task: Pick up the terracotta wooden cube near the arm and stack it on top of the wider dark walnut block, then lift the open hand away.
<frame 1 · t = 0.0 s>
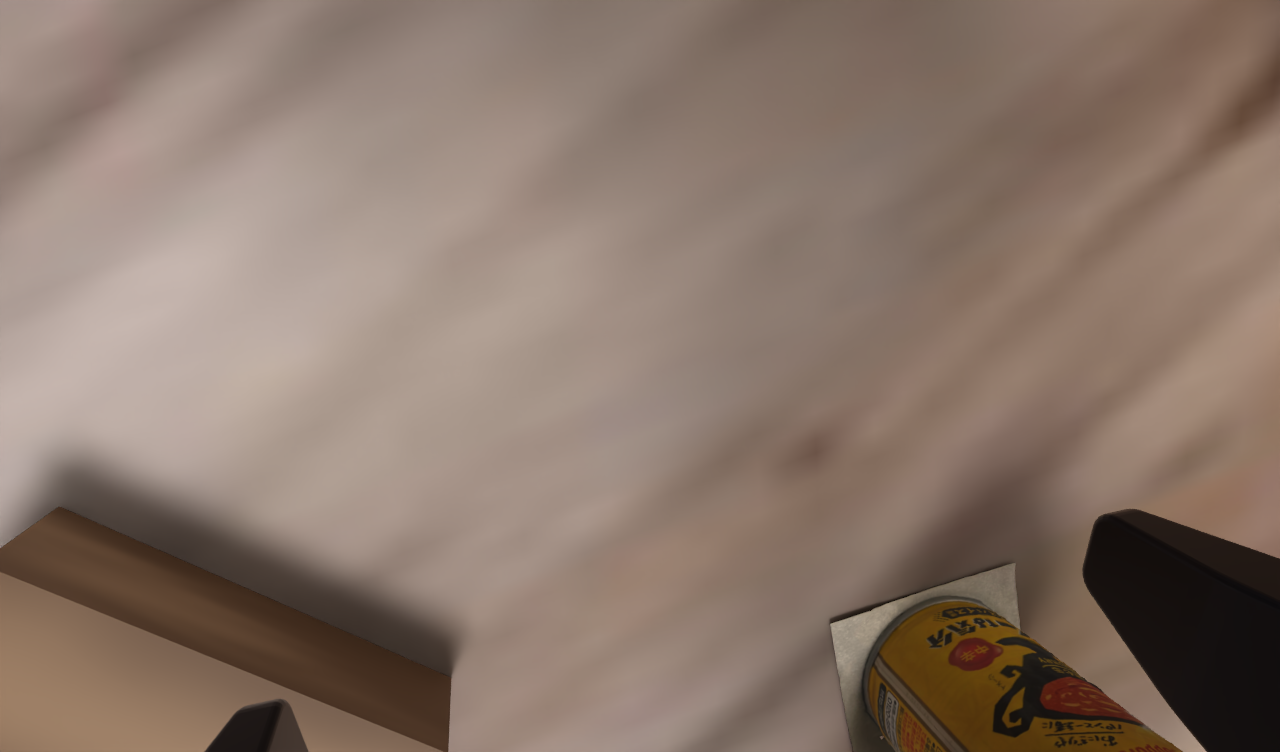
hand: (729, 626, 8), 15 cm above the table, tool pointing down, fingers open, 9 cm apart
condiment: (931, 686, 29), on the table
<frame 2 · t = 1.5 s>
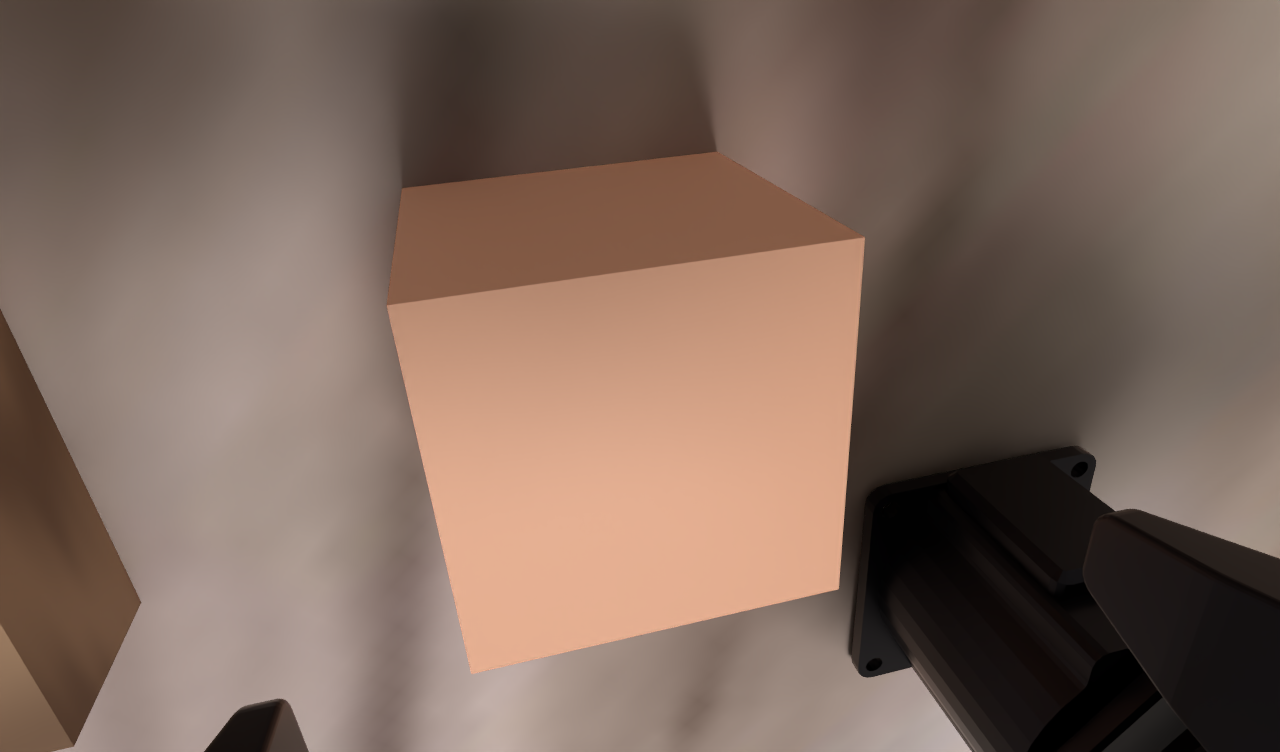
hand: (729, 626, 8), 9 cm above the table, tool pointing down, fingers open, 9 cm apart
terracotta cube: (580, 314, 16), on the table
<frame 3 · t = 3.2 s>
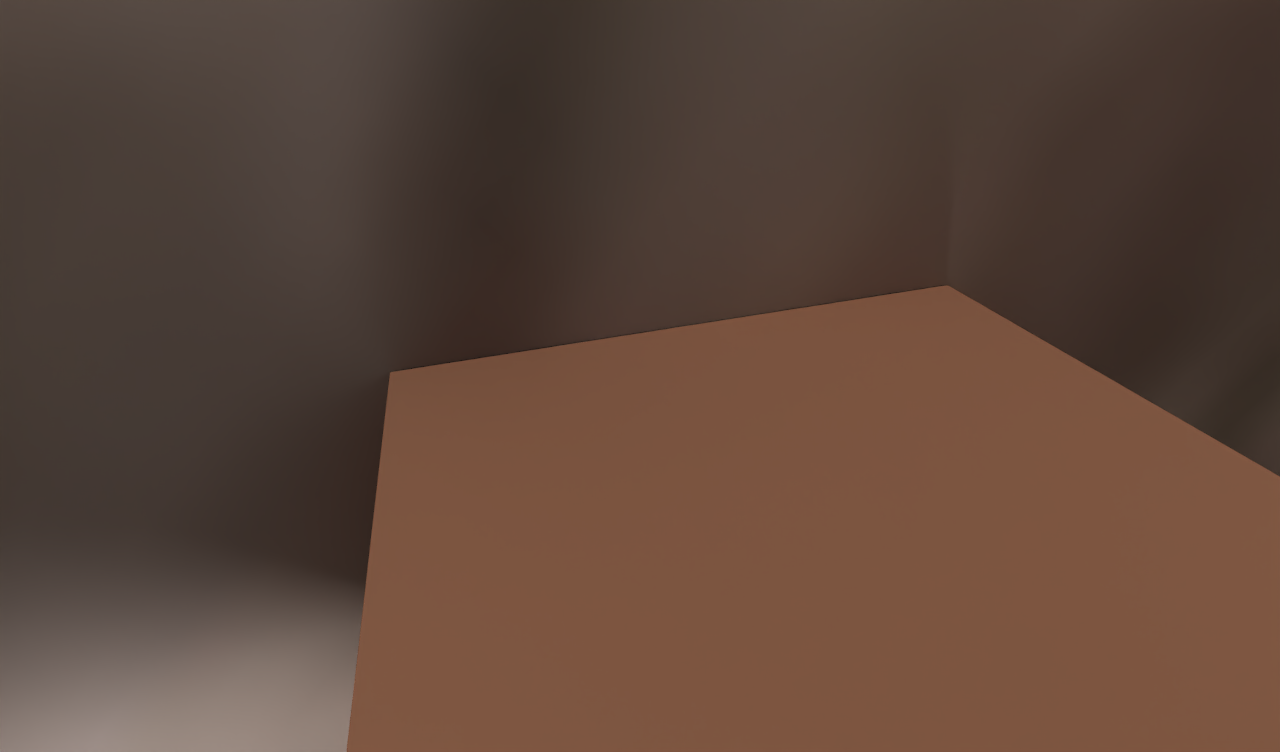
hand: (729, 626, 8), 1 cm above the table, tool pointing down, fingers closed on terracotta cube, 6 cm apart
terracotta cube: (696, 551, 9), on the table, touching gripper
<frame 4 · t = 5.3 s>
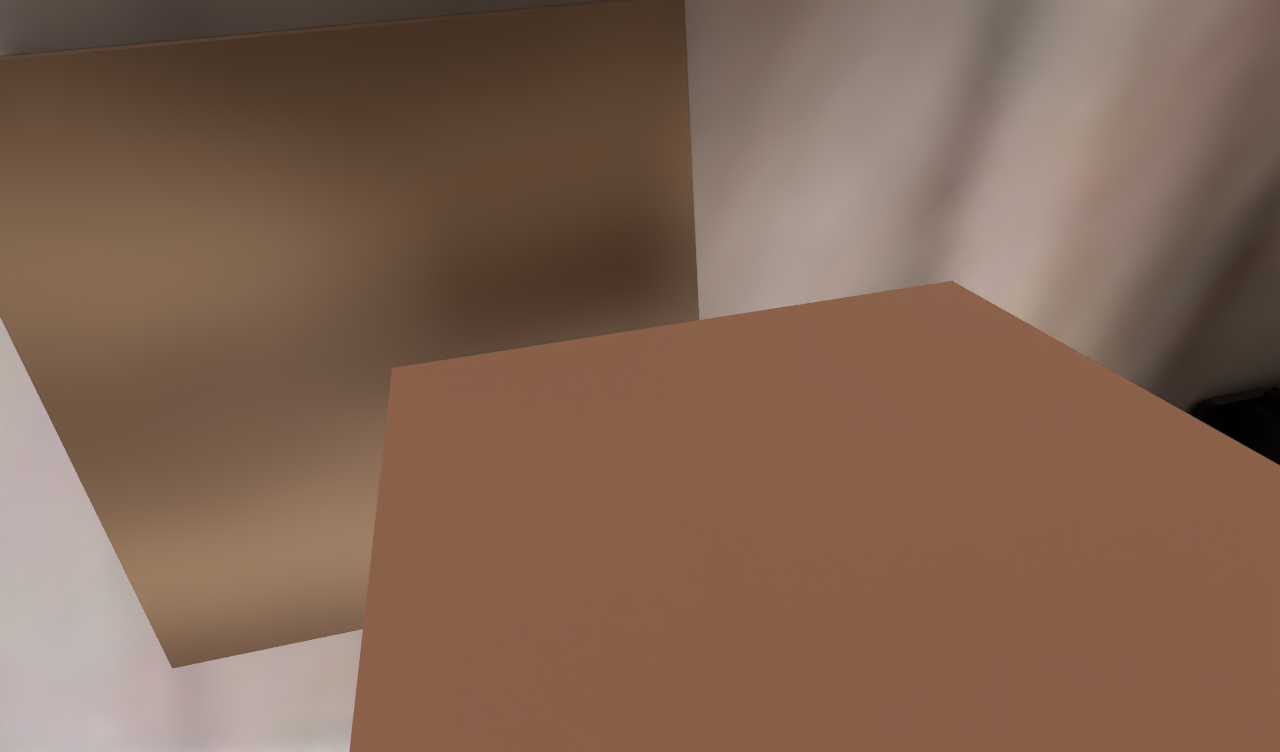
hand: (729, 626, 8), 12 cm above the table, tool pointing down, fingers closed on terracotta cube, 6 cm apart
walnut block: (408, 301, 18), on the table
terracotta cube: (699, 549, 9), point 10 cm above the table, touching gripper
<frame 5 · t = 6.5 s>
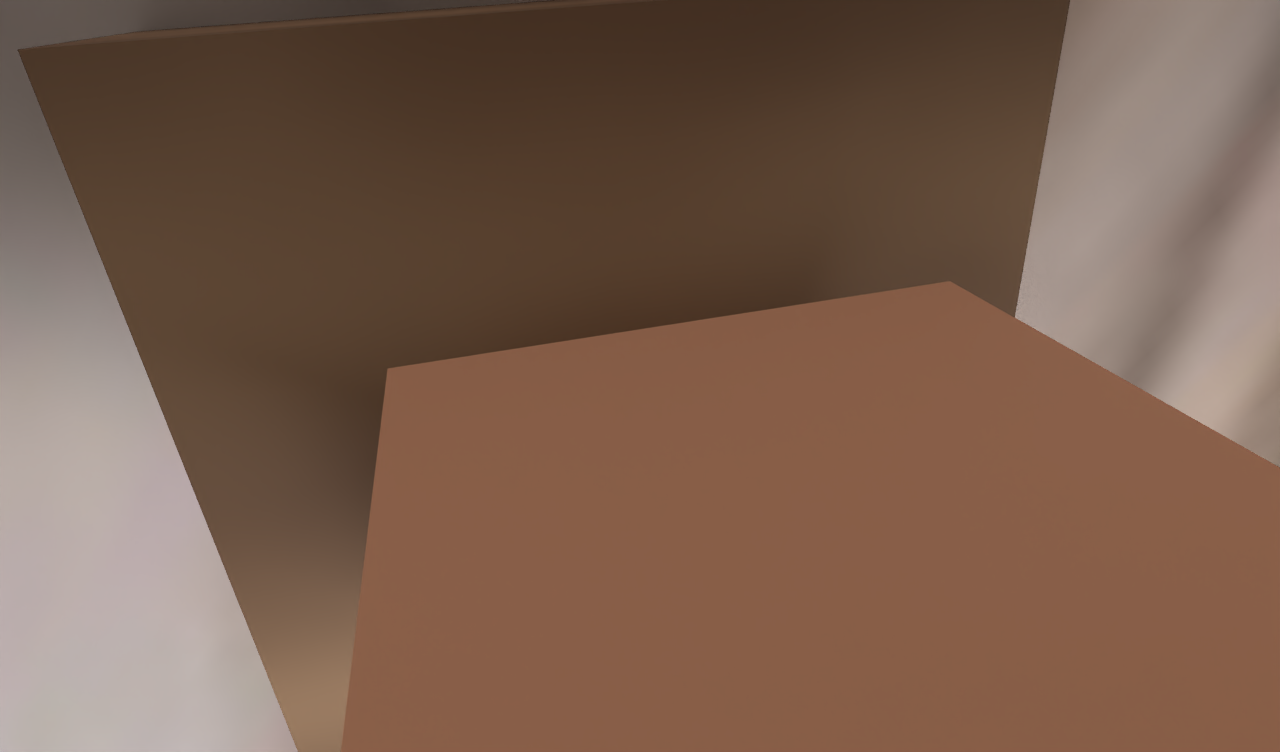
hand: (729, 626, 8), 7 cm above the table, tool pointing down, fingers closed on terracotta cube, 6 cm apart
walnut block: (594, 344, 15), on the table
terracotta cube: (696, 550, 9), point 6 cm above the table, touching gripper
when the fingers open (7 cm above the table, at t = 7.5 s): terracotta cube drops 2 cm, resting on walnut block.
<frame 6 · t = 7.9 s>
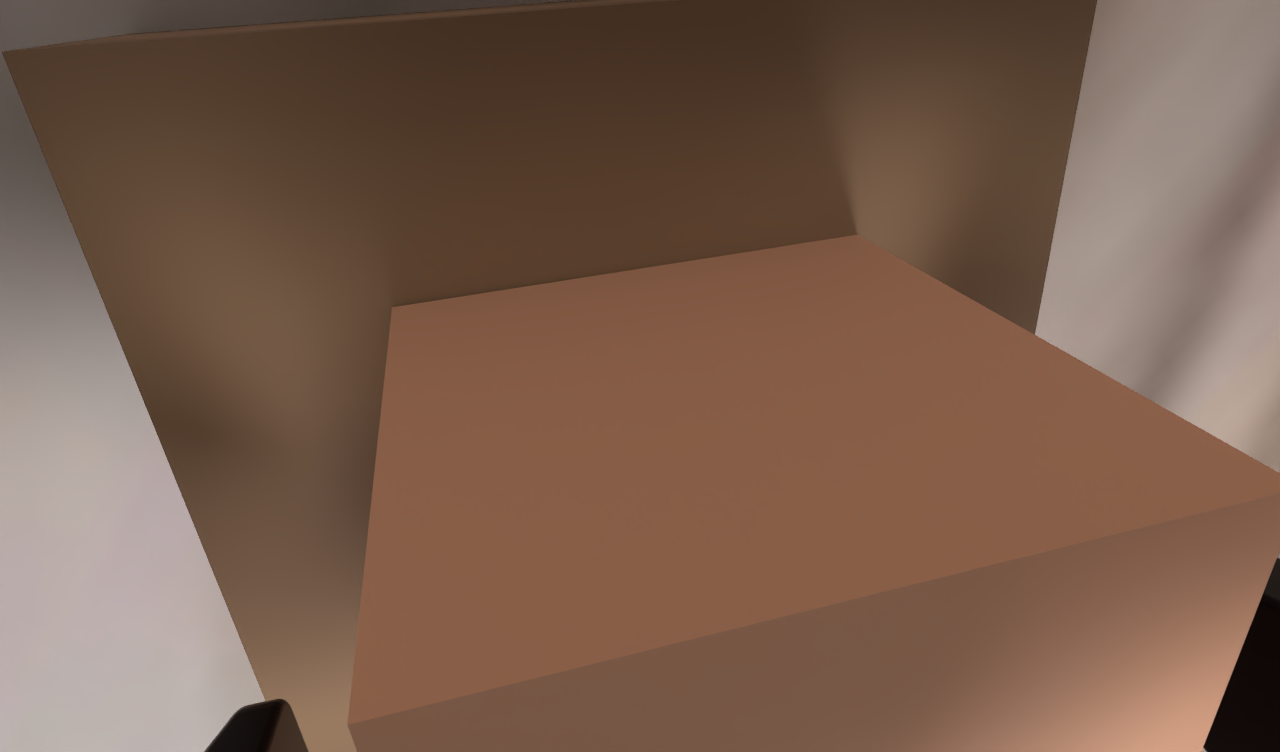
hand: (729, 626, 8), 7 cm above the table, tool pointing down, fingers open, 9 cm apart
walnut block: (600, 353, 15), on the table, touching terracotta cube
terracotta cube: (653, 467, 11), point 4 cm above the table, touching walnut block
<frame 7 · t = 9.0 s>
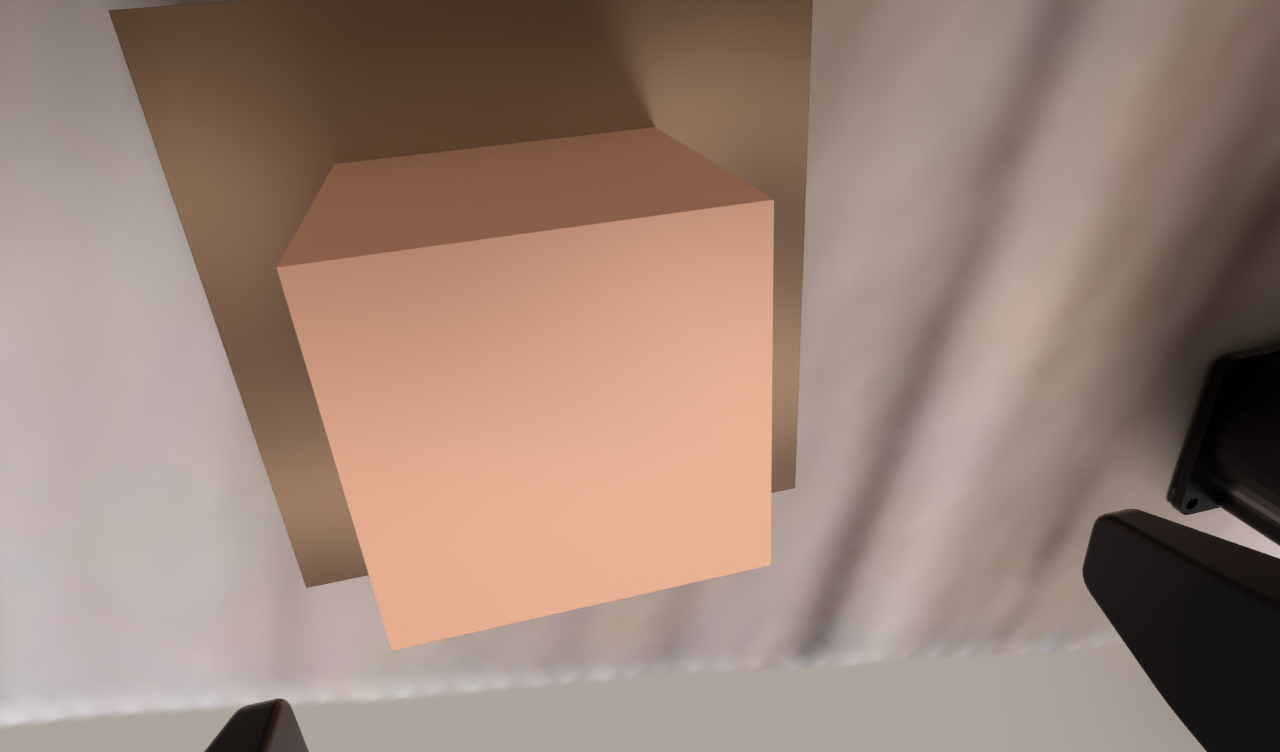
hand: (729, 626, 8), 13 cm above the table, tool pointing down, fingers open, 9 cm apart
walnut block: (515, 249, 20), on the table, touching terracotta cube
terracotta cube: (522, 294, 16), point 4 cm above the table, touching walnut block
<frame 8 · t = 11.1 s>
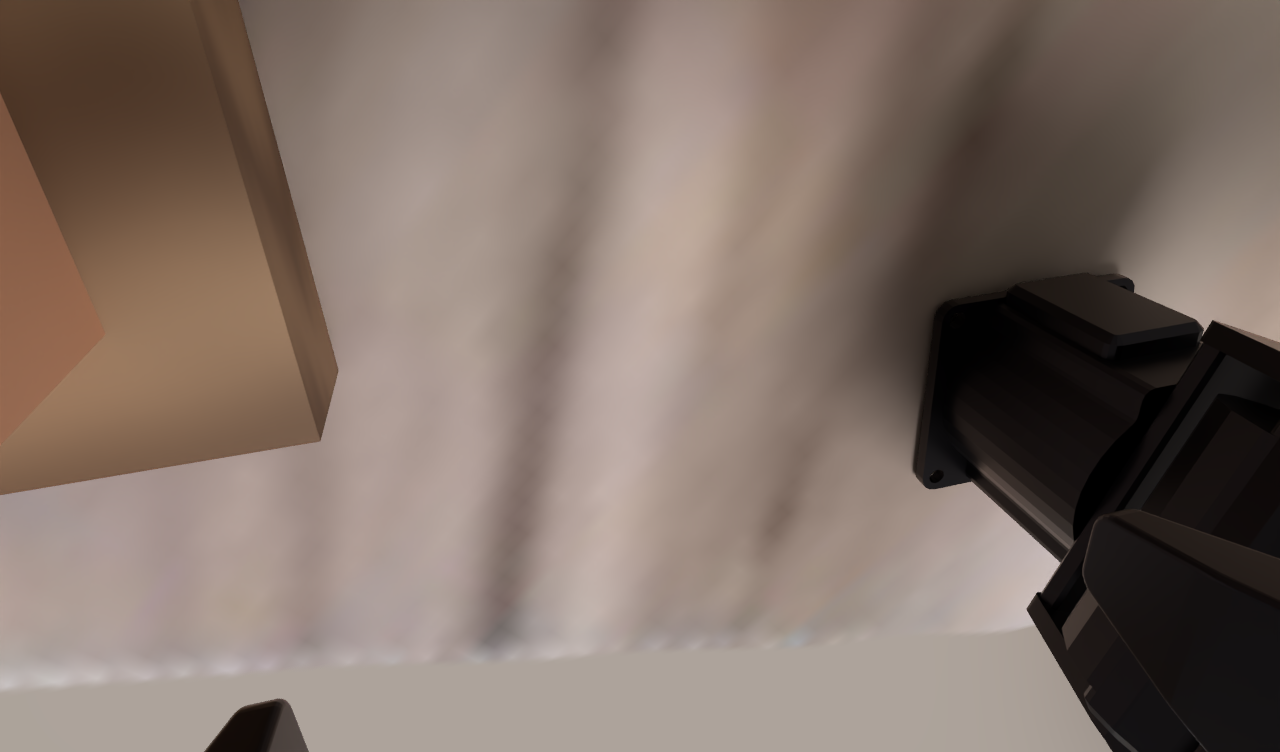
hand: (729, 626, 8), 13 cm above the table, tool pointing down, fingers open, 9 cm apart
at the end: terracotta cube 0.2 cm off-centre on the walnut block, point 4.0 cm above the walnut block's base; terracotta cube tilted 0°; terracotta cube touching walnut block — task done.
